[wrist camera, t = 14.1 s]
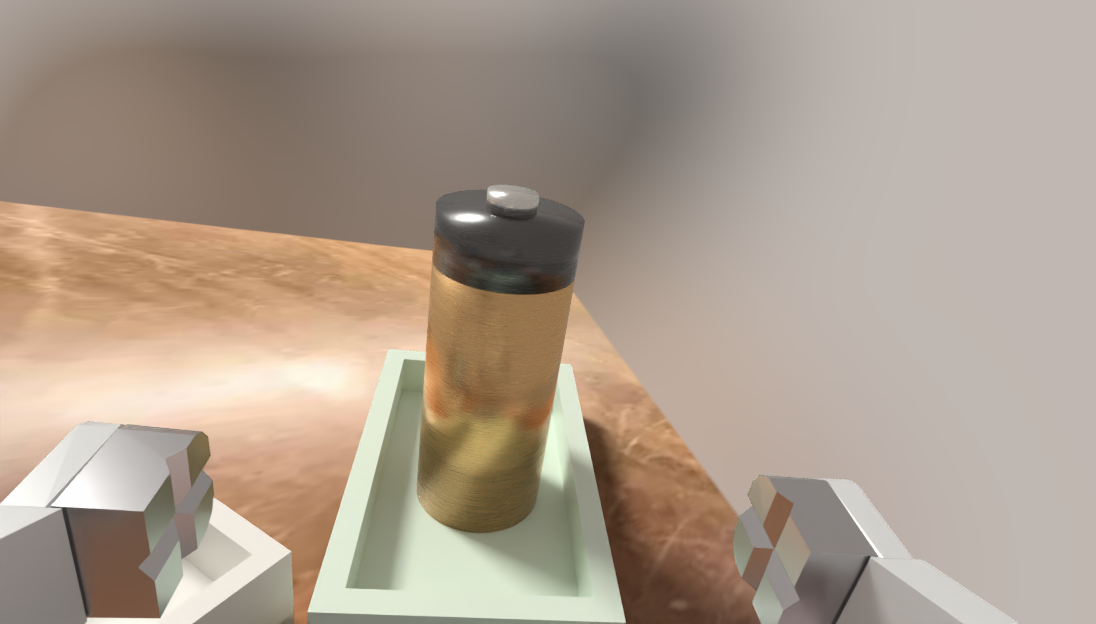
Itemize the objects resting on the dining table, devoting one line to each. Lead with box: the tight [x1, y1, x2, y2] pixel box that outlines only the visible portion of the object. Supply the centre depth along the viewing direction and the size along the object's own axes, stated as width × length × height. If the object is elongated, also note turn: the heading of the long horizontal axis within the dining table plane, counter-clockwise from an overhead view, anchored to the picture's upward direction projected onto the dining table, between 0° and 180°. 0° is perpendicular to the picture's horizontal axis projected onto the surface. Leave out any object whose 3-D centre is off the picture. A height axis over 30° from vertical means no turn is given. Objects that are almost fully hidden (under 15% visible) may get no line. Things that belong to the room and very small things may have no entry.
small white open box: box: [85, 497, 294, 624], centre depth 17 cm, size 7×7×3 cm
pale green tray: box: [308, 349, 626, 624], centre depth 24 cm, size 14×9×2 cm, turn 4°
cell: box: [417, 185, 585, 533], centre depth 22 cm, size 5×5×12 cm
